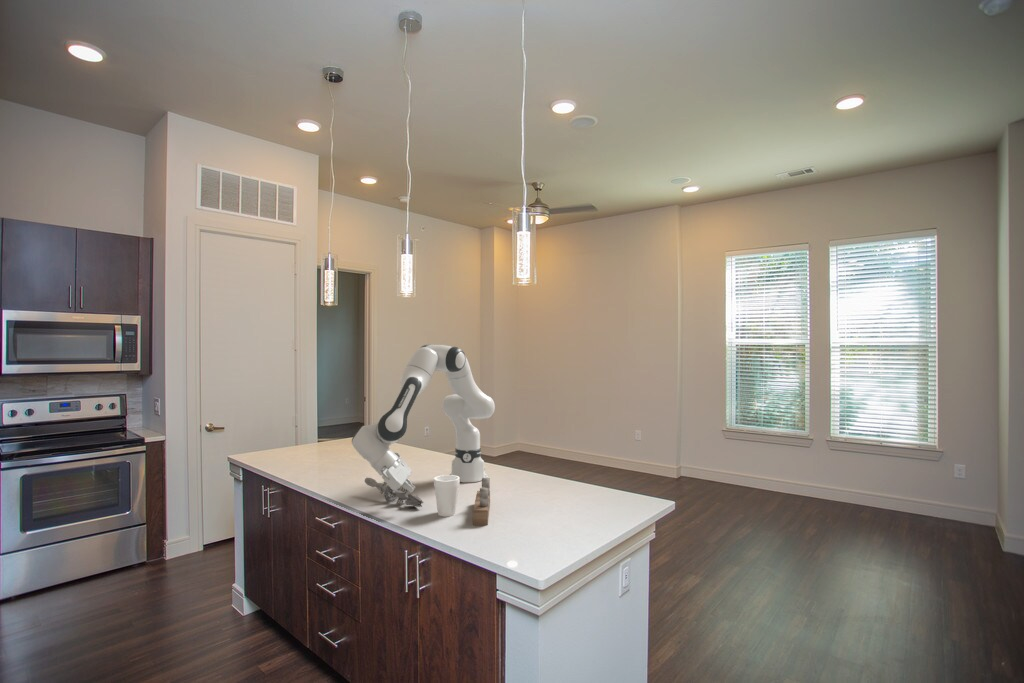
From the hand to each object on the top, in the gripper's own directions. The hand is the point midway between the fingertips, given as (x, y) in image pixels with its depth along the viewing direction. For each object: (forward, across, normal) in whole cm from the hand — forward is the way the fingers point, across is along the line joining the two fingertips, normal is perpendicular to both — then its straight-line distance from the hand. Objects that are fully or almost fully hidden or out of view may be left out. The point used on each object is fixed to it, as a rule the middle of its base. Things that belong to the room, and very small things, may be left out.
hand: (413, 490), depth 187 cm
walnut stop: (+24, 0, -12) cm, 27 cm away
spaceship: (-2, +15, +14) cm, 21 cm away
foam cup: (+15, 0, -3) cm, 15 cm away
